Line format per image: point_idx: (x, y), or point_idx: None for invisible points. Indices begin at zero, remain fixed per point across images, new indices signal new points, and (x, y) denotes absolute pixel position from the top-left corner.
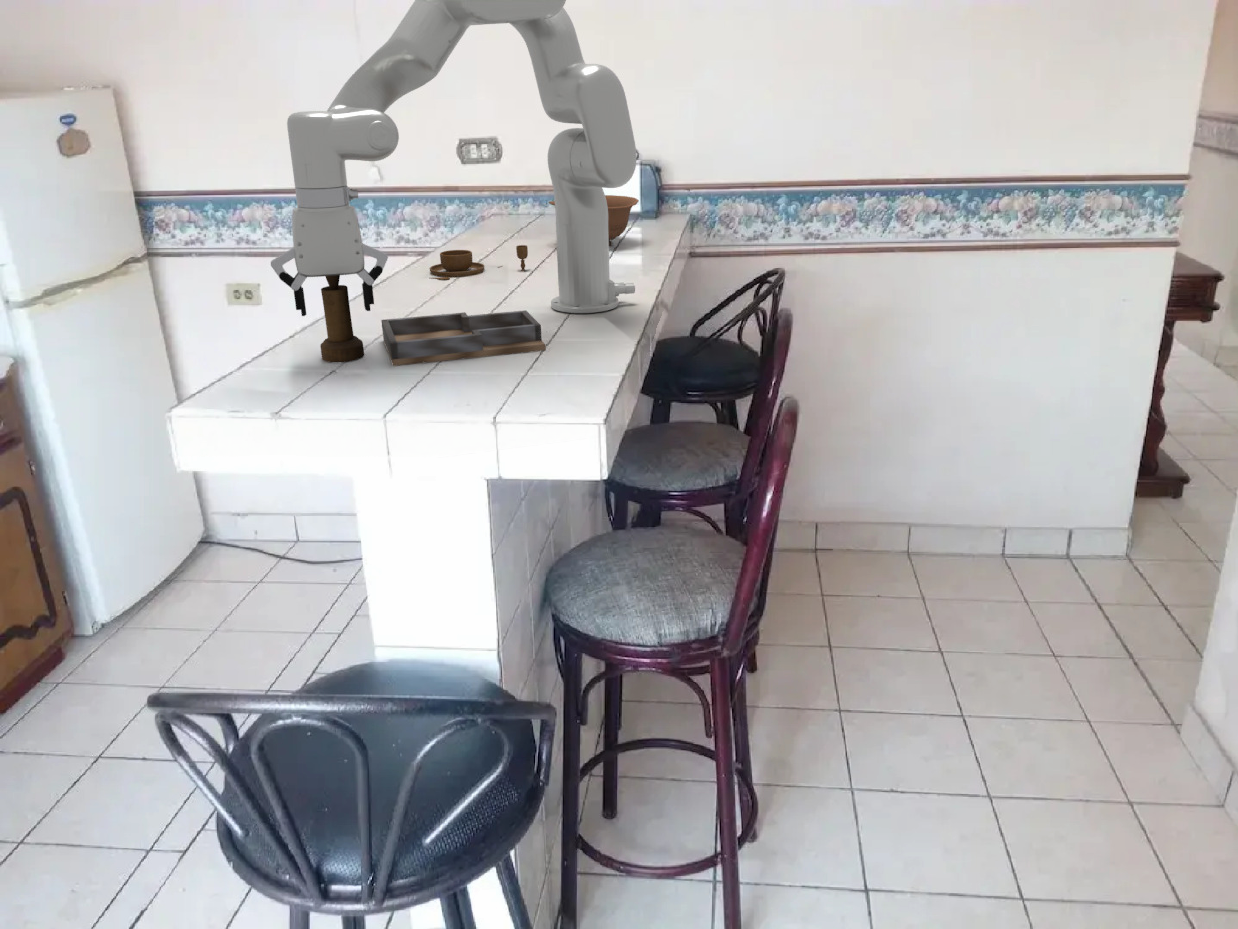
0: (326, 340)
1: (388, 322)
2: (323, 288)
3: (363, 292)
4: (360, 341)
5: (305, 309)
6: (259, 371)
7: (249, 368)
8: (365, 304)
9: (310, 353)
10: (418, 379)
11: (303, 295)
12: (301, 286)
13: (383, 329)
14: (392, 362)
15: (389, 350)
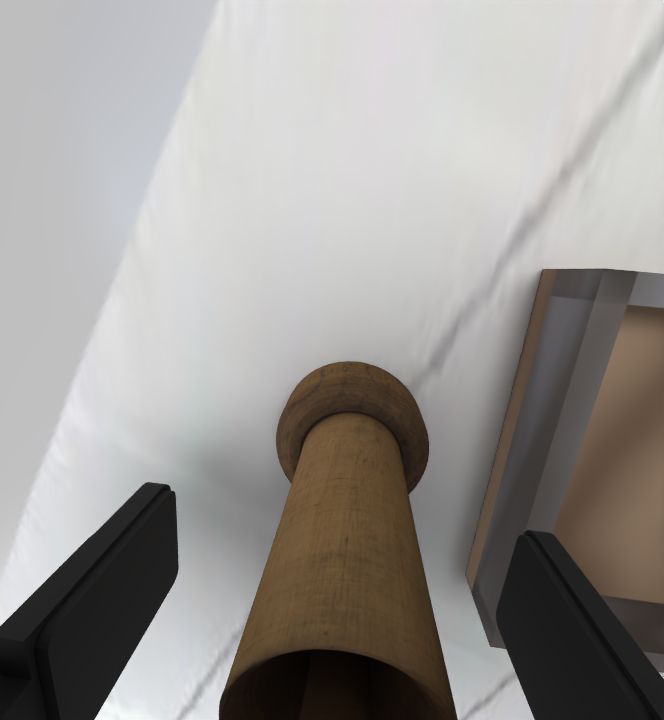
0: (296, 451)
1: (613, 342)
2: (244, 676)
3: (565, 701)
4: (418, 475)
5: (159, 604)
6: (110, 455)
7: (78, 412)
8: (511, 657)
9: (255, 328)
10: (484, 691)
11: (94, 711)
12: (23, 690)
13: (560, 349)
14: (469, 575)
15: (492, 529)
